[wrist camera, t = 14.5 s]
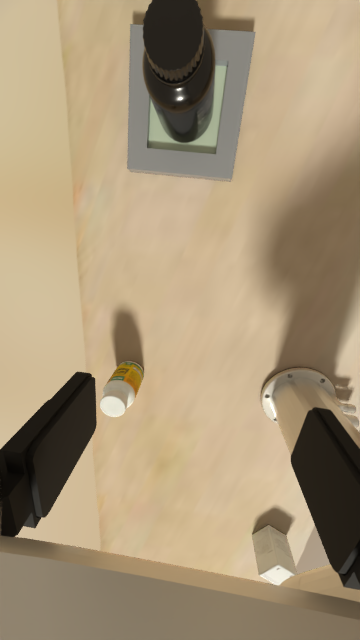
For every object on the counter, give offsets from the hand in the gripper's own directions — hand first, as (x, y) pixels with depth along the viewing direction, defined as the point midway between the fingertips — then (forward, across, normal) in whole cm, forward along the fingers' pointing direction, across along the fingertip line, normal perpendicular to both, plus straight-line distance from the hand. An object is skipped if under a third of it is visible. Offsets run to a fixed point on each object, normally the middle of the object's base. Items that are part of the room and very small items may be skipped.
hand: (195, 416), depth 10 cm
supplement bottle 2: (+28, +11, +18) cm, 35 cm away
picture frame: (+28, +5, -22) cm, 36 cm away
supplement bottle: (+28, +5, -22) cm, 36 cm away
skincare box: (+29, -25, +59) cm, 70 cm away
